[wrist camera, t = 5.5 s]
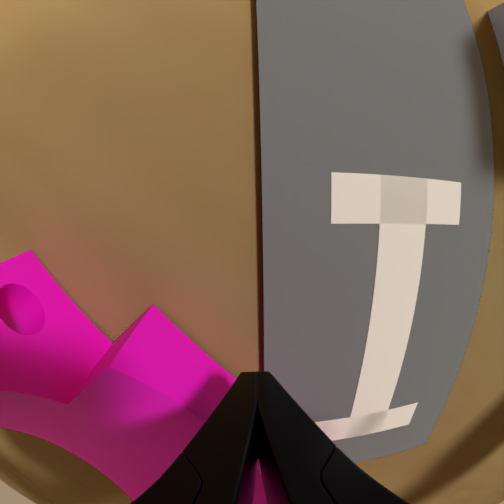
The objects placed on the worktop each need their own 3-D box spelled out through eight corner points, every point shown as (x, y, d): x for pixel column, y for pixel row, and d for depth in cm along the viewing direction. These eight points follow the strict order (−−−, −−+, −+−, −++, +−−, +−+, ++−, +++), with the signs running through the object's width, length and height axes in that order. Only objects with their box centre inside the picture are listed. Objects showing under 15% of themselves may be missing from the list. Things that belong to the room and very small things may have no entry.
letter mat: (455, -13, 6) (457, -14, 6) (423, 441, 12) (425, 444, 11) (253, -59, 6) (253, -63, 6) (263, 471, 12) (263, 474, 11)
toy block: (333, 450, 11) (366, 586, 4) (235, 493, 12) (231, 605, 5) (62, 200, 8) (-139, 261, 1) (2, 305, 9) (-109, 390, 2)
